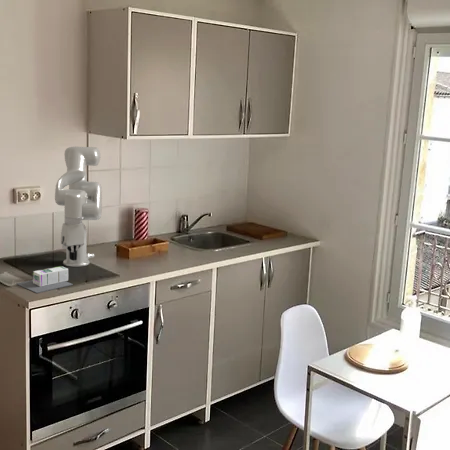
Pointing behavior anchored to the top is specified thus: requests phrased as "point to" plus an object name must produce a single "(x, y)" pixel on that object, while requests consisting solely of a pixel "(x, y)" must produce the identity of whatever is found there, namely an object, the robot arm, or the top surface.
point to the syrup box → (50, 276)
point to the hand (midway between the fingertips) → (73, 259)
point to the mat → (38, 289)
